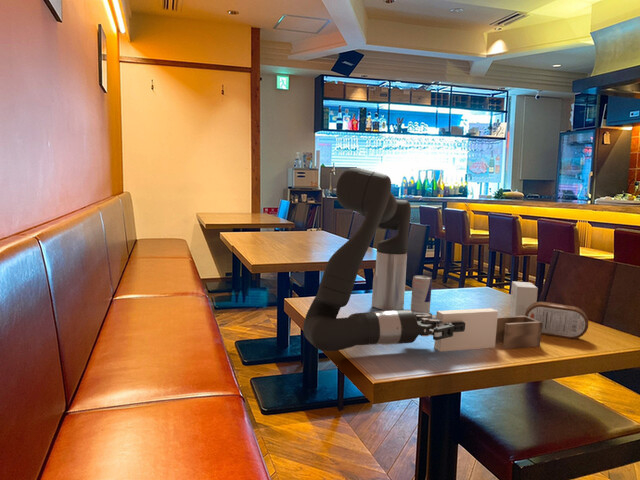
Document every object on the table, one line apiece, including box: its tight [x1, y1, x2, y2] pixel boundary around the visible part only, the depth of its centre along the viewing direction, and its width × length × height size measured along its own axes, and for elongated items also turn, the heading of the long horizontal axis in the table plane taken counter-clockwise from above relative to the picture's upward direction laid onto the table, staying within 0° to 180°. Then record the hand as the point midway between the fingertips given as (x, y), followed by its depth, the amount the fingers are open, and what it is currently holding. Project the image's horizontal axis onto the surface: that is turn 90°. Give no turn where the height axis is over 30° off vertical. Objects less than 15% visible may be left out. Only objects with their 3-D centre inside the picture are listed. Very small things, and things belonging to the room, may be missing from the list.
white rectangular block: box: [433, 307, 499, 352], centre depth 111 cm, size 15×3×9 cm, turn 107°
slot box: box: [495, 315, 543, 350], centre depth 116 cm, size 10×6×6 cm, turn 107°
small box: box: [508, 280, 539, 316], centre depth 138 cm, size 8×6×10 cm
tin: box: [525, 301, 589, 340], centre depth 124 cm, size 15×3×8 cm, turn 64°
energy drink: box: [410, 274, 433, 313], centre depth 134 cm, size 5×5×12 cm
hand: (458, 323), depth 111 cm, fingers open, 4 cm apart
